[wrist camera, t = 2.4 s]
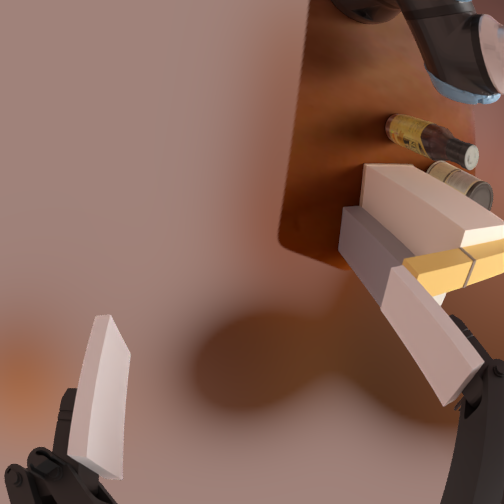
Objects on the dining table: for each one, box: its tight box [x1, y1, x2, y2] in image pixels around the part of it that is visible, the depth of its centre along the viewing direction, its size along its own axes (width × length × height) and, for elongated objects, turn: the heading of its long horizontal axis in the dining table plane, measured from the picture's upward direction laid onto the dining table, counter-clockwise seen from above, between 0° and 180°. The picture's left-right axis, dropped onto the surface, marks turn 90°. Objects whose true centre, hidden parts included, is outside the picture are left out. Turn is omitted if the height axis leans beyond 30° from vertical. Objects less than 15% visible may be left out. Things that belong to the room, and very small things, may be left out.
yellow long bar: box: [402, 239, 504, 297], centre depth 30 cm, size 24×4×3 cm, turn 92°
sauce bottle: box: [385, 114, 479, 170], centre depth 40 cm, size 7×6×20 cm
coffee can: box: [426, 161, 493, 211], centre depth 51 cm, size 10×10×14 cm
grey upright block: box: [338, 206, 446, 307], centre depth 50 cm, size 12×10×22 cm
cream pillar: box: [359, 163, 504, 256], centre depth 44 cm, size 12×9×27 cm
